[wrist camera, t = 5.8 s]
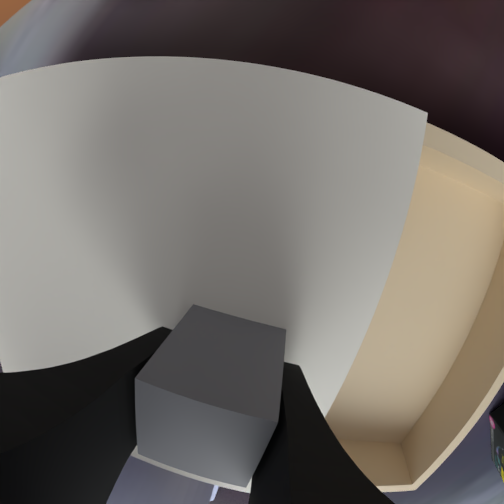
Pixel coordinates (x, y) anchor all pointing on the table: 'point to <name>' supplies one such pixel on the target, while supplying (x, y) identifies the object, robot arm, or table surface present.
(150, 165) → the lid
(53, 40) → the table surface
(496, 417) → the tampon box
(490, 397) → the beige wooden tray
